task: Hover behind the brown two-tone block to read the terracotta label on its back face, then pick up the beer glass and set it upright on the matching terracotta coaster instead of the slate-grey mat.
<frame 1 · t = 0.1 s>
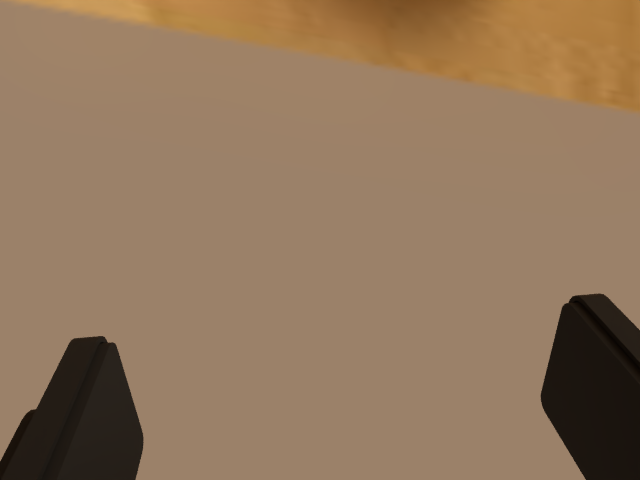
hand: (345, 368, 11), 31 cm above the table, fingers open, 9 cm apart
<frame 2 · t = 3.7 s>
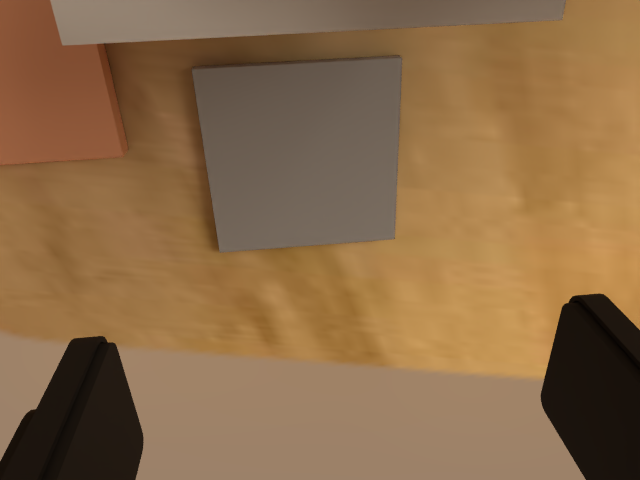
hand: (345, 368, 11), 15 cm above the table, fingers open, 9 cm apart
slate grey mat: (302, 158, 25), on the table
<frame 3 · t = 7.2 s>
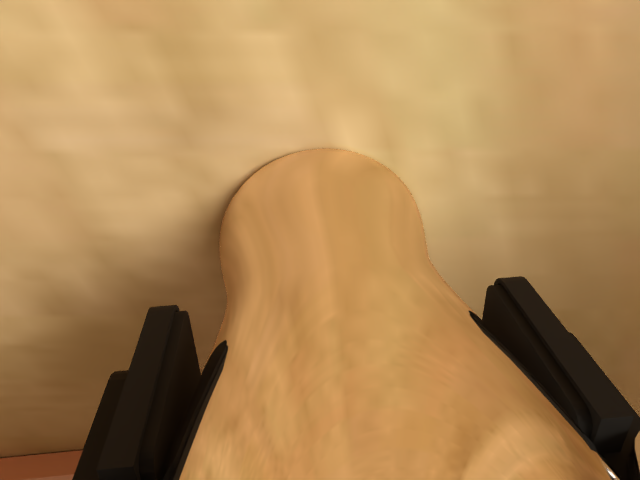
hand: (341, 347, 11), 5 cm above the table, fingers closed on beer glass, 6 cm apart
beer glass: (321, 239, 16), on the table, touching gripper
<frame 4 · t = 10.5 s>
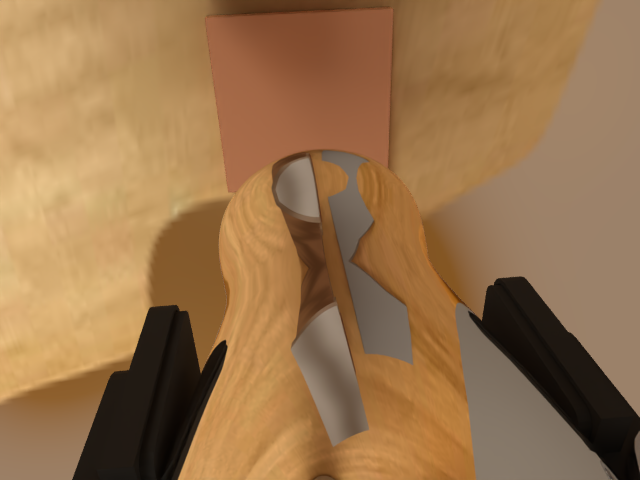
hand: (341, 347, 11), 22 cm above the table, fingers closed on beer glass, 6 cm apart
beer glass: (320, 240, 16), point 17 cm above the table, touching gripper
terracotta coaster: (303, 102, 31), on the table
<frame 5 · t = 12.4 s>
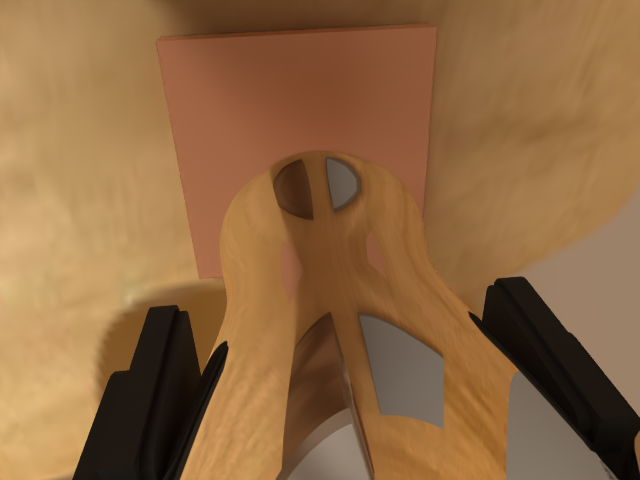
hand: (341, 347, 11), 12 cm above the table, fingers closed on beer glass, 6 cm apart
beer glass: (321, 240, 16), point 7 cm above the table, touching gripper
terracotta coaster: (304, 157, 22), on the table
when the fingers open (7 cm above the table, at t = 13.9 s): beer glass drops 1 cm, resting on terracotta coaster.
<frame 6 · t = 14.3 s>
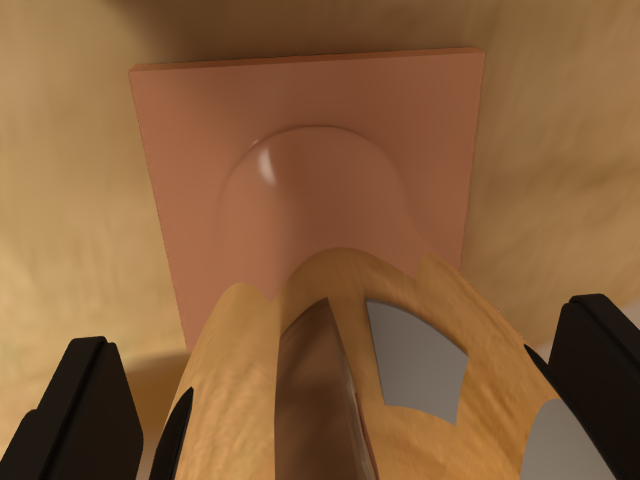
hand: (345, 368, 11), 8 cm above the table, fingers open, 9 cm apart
beer glass: (314, 213, 17), point 1 cm above the table, touching terracotta coaster
terracotta coaster: (314, 207, 18), on the table
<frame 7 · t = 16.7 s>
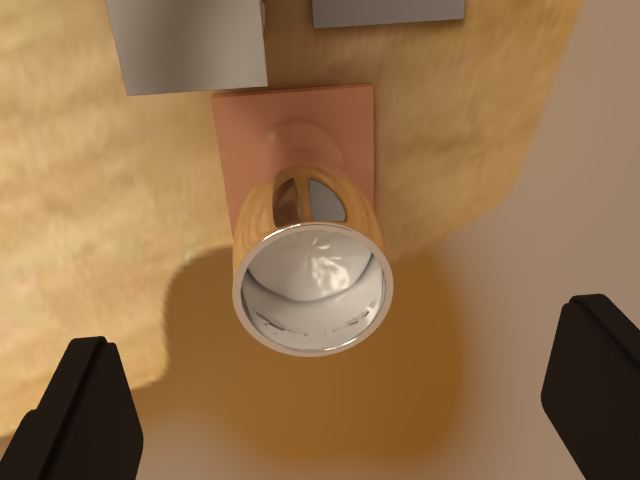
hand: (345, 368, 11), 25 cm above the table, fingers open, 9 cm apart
beer glass: (297, 164, 34), point 1 cm above the table, touching terracotta coaster
terracotta coaster: (298, 163, 35), on the table
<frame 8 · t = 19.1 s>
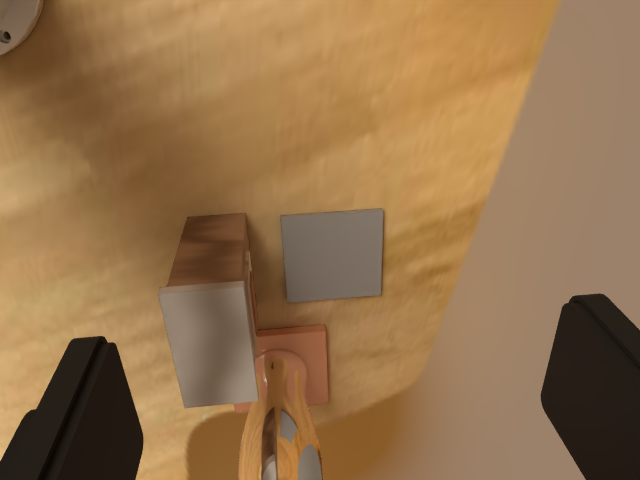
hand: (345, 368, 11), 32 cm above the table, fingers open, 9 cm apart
beer glass: (277, 370, 53), point 1 cm above the table, touching terracotta coaster
terracotta coaster: (278, 366, 54), on the table
slate grey mat: (332, 255, 47), on the table
brown two-tone block: (223, 264, 47), on the table
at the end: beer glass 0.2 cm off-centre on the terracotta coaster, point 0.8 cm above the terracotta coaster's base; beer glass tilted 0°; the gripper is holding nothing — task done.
